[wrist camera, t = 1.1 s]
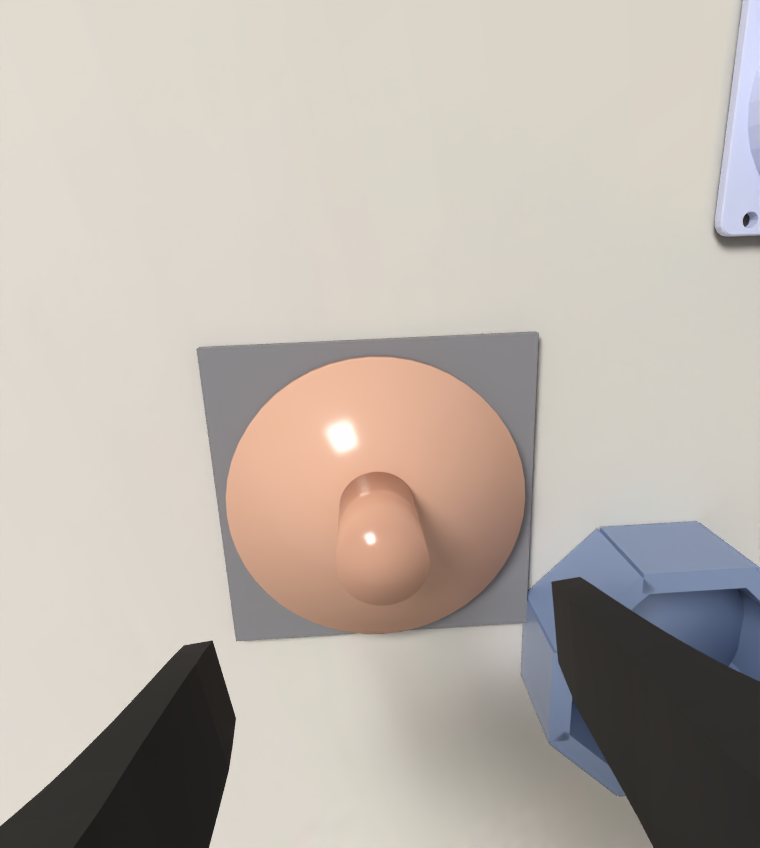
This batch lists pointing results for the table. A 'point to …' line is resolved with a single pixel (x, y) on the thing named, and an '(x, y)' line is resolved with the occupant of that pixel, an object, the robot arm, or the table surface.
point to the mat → (281, 363)
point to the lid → (375, 494)
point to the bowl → (643, 615)
